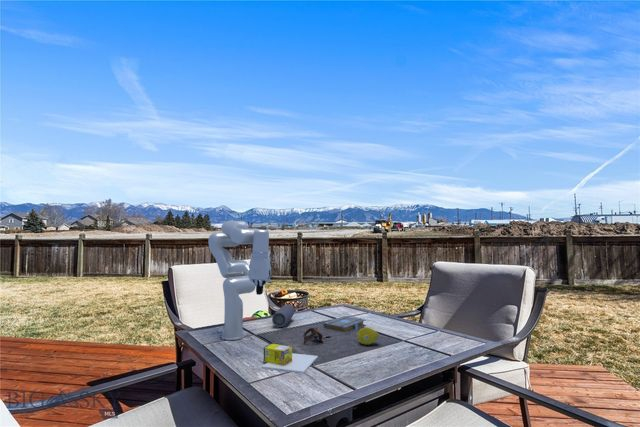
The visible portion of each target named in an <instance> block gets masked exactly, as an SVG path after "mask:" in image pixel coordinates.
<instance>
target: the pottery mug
mask: <svg viewBox="0 0 640 427" xmlns="http://www.w3.org/2000/svg"><path fill="white" fill-rule="evenodd" d="M309 333H310V334H309ZM302 336H303V342H304V343H307V342H310V341H315V339H318V341H321V343H322V344H324V340H325V339H324V337H323V334H322V332H321V331H320V330H319V329H318V328H317V327H313V326H312V327H310V328H308V329H306V330H305V331H304V332H303V335H302Z"/></svg>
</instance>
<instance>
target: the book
mask: <svg viewBox="0 0 640 427" xmlns="http://www.w3.org/2000/svg"><path fill="white" fill-rule="evenodd" d="M364 321H366V319H364V318H359V317H353V316H347V315H344V316H340V317H338V318H334V319H331V320H329V321H325V322H323V323H322V329H323V330H325V331H330V332H334V333H337V334H338V333H339V334H344V335H347V334H349V333H351V332H355V331H359V330H360V329H361V328H366V326H367V324H364ZM359 328H360V329H359Z"/></svg>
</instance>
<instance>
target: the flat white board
mask: <svg viewBox="0 0 640 427" xmlns="http://www.w3.org/2000/svg"><path fill="white" fill-rule="evenodd" d="M318 357H319V356H318V355H313V354H304V353H303V354H301V353H293V352H292V361H291V362H289V363H288V364H286V365H280V364H275V363H270V362H265V364H263V365H262V366H261V369H266V370H267V369H268V370H274V371H275V370H276V371H284V372H293V373H299V374H300V373H301V374H304V373H305V372H306V371H307V370H308V369H309V368H310V366H311V365H312V364H313V363H314V362H315V361H316V360H317V359H318Z"/></svg>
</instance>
